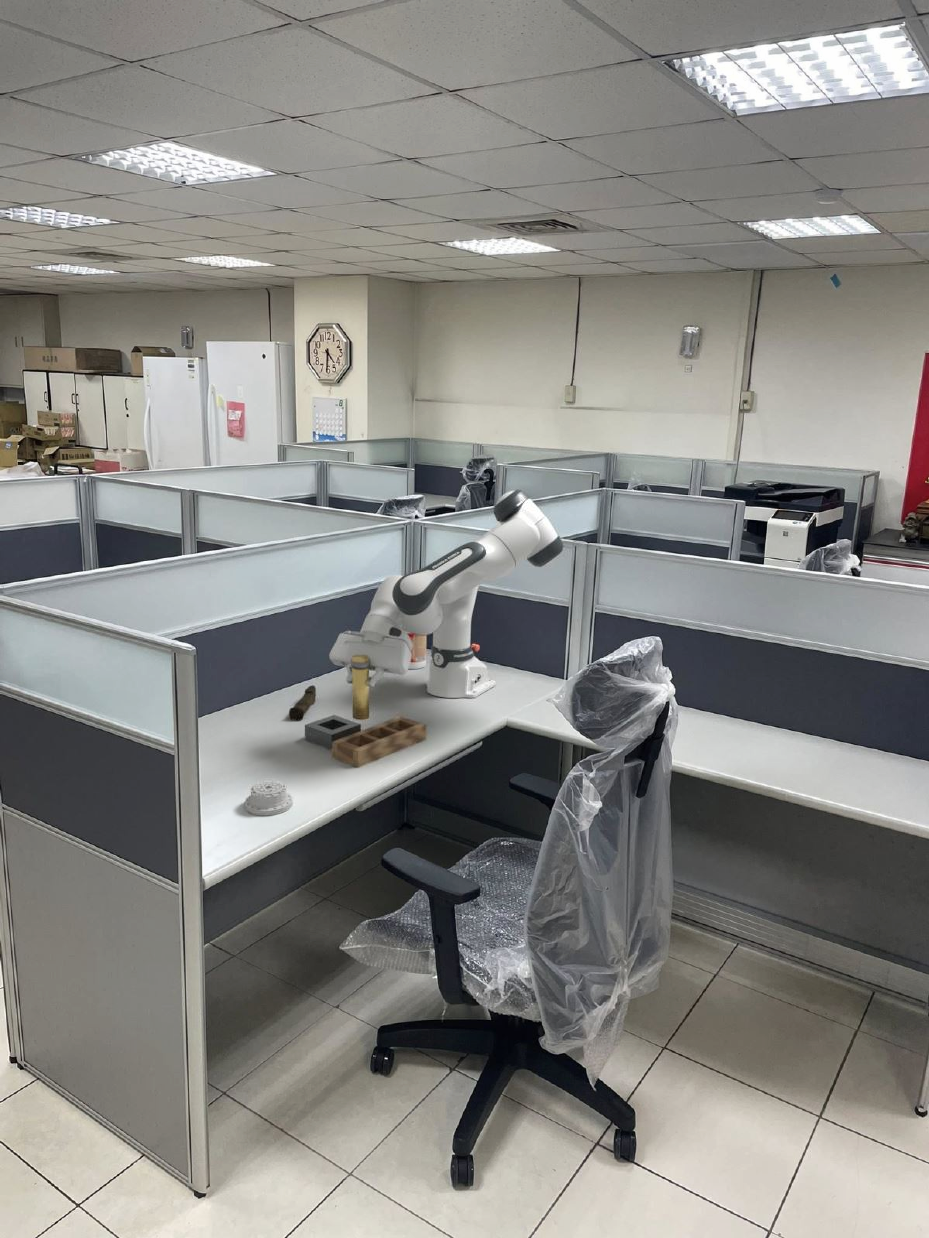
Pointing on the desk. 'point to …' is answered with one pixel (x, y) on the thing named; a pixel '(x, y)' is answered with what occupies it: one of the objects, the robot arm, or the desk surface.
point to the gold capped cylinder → (360, 686)
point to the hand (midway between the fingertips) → (359, 683)
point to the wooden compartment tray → (378, 741)
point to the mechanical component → (268, 799)
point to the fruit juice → (417, 651)
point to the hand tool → (303, 704)
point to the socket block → (330, 730)
